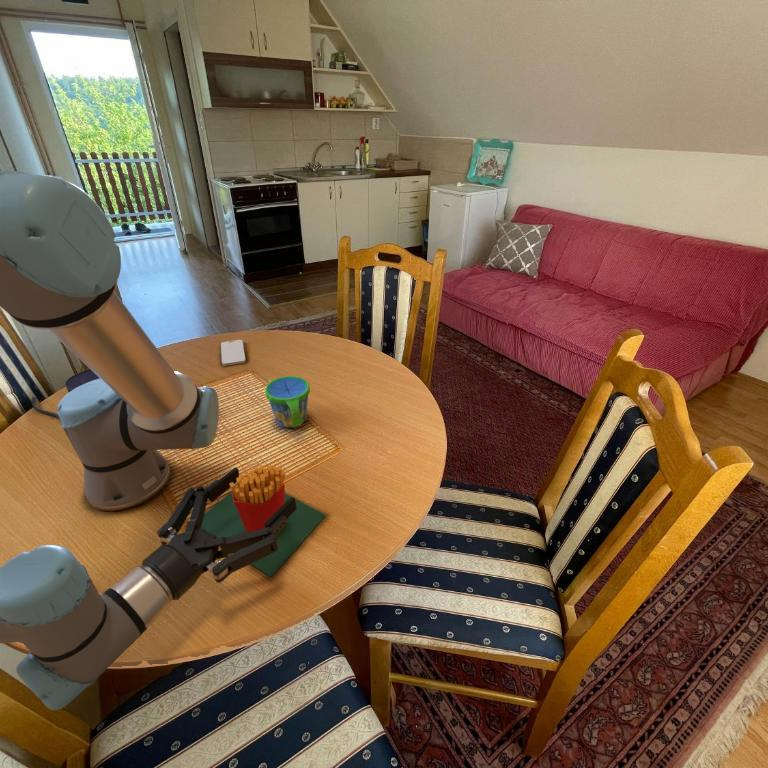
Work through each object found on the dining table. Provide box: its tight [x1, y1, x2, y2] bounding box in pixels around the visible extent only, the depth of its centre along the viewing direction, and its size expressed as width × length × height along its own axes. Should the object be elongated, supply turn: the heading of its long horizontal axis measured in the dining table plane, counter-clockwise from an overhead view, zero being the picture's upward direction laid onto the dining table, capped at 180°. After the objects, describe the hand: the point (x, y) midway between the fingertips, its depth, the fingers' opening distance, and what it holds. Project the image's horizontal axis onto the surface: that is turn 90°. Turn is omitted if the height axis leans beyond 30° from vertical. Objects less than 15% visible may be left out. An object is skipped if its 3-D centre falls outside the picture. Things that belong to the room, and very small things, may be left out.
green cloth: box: [201, 490, 327, 578], centre depth 79 cm, size 20×15×1 cm
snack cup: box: [264, 375, 311, 429], centre depth 102 cm, size 16×10×10 cm
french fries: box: [230, 464, 286, 532], centre depth 74 cm, size 9×4×13 cm, turn 116°
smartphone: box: [219, 339, 247, 367], centre depth 134 cm, size 7×1×15 cm
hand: (265, 487), depth 74 cm, fingers open, 13 cm apart
